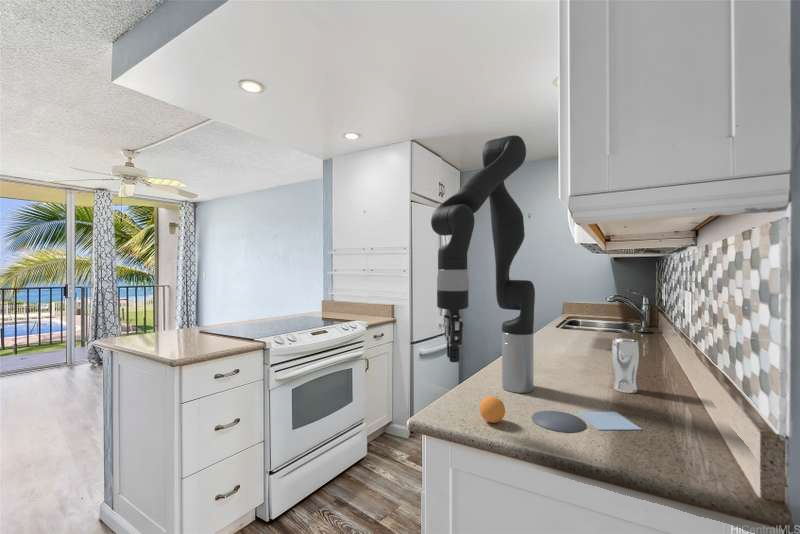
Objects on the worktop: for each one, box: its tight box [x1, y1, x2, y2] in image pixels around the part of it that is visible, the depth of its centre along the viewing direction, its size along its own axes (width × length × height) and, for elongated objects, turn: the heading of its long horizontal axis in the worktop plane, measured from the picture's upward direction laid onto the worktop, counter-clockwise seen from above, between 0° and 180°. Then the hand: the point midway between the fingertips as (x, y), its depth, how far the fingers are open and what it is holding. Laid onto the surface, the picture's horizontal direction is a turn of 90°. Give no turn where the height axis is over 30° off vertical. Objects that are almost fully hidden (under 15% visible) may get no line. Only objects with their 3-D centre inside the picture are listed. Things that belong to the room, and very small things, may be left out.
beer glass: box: [611, 337, 640, 394], centre depth 111 cm, size 7×7×15 cm
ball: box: [479, 395, 506, 424], centre depth 89 cm, size 6×6×6 cm
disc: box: [531, 410, 587, 433], centre depth 89 cm, size 12×12×1 cm
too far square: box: [576, 411, 642, 431], centre depth 89 cm, size 10×10×1 cm
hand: (452, 359), depth 89 cm, fingers open, 3 cm apart
